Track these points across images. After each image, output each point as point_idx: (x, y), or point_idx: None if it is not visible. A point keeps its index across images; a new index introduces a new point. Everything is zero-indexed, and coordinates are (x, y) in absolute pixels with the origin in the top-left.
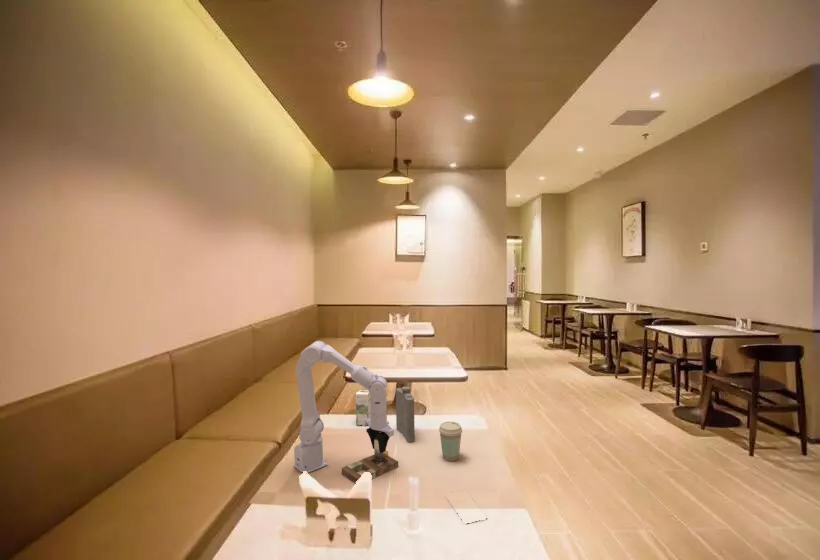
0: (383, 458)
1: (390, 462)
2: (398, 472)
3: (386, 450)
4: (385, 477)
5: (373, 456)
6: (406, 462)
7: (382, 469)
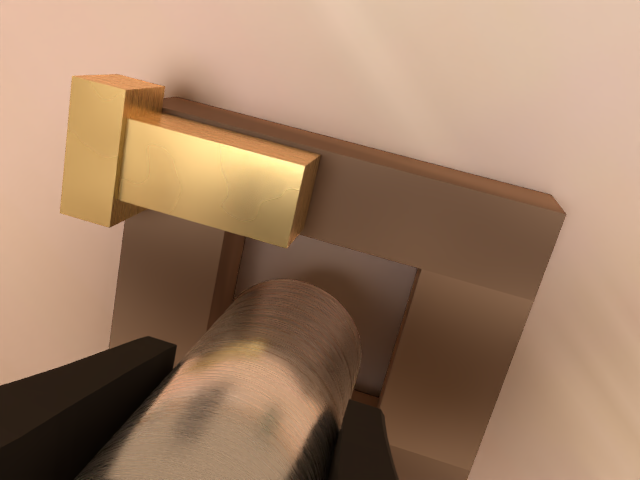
0: (360, 346)
1: (470, 298)
2: (630, 311)
3: (255, 151)
4: (539, 470)
5: (157, 275)
6: (593, 12)
7: (466, 465)
